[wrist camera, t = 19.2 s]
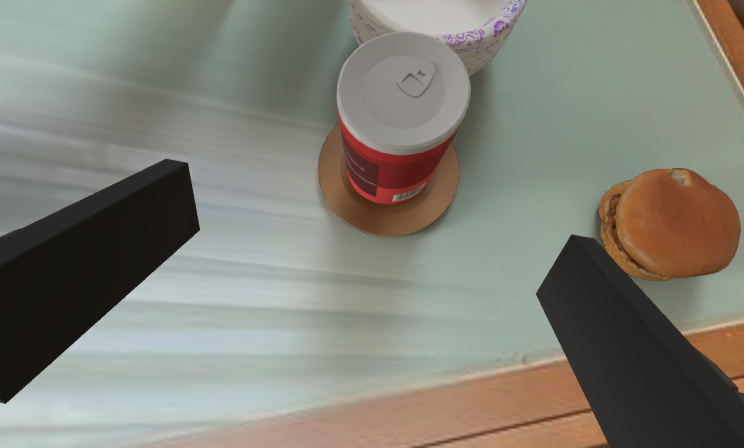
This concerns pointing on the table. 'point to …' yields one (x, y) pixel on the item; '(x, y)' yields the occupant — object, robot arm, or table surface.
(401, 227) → the plate
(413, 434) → the table surface
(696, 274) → the burger
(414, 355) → the table surface
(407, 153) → the canned food
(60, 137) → the table surface
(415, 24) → the paper bowls
